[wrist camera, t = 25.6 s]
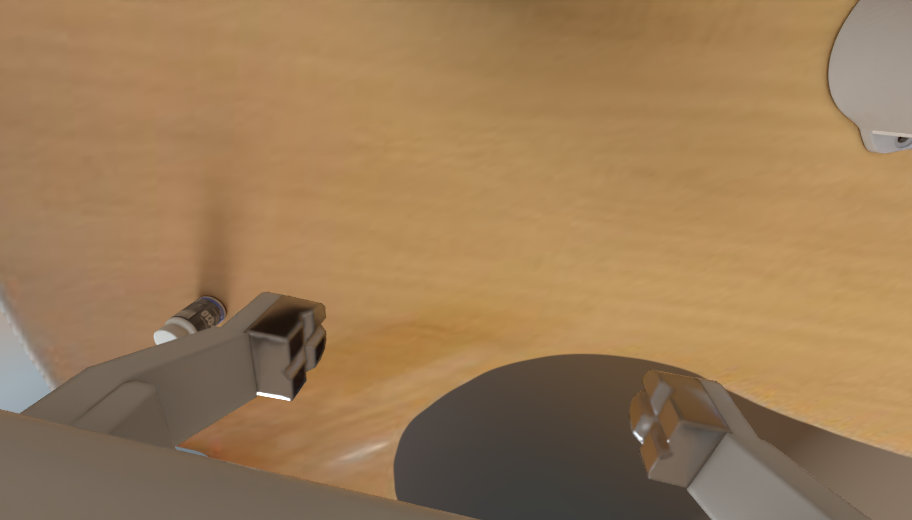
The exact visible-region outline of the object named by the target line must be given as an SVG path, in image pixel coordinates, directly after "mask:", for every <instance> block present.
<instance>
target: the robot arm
mask: <svg viewBox="0 0 912 520" xmlns="http://www.w3.org/2000/svg"><path fill="white" fill-rule="evenodd" d="M828 81H829V88H830V92H831V95H832V98H833V100H834V102H835V104H836V105H837V107H838V108H839V110H840V111H841V112H842V113H843V114H844V115H845V116H847V117H848V118H849V119H850V120H851V121H853V122H854V123H855V124H856V125H857V126H858V127H859V129H860V133H861V136H862V140H863V142H864V145H865V147H866V148H867V150H868V151H870V152H873V153H891V152H897V151H903V150H909V149H912V0H859V2H858V3H857V4H856V6H855V7H854V8H853V10H852V11H851V13H850V14H849V16H848V17H847V19H846V20H845V22H844V24H843V26H842V28H841V29H840V31H839V34H838V36H837V38H836V41H835V43H834V46H833V49H832V52H831V56H830V61H829V69H828ZM899 137H901V139H900V140H898V138H899ZM325 318H326V312H325V306H324V305H323V304H322V303H318V302H314V301H309V300H305V299H300V298H296V297H291V296H287V295H281V294H277V293H272V292H263V293H261V294H259V295H258V296H257V297H256V298H255V299H254V300H252V301H251V302H250V303H249V304H248V305H247V306H245V307H244V308H243V309H242V310H241V311H239V312H238V313H237V314H236V315H235V316H234V317H232V318H231V319H230V320H229V321H228V322H226V323H225V324H224V325H223V326H222V327H221V328H219V327H211V328H208V329H205V330H202V331H199V332H196V333H193V334H190V335H186V336H183V337H180V338H177V339H174V340H171V341H168V342H165V343H162V344H159V345H156V346H153V347H149V348H146V349H143V350H140V351H137V352H134V353H131V354H128V355H125V356H122V357H119V358H116V359H113V360H109V361H106V362H103V363H100V364H97V365H94V366H91V367H88V368H86V369H84V370H83V371H81V372H80V373H79V374H77V375H76V376H74V377H73V378H71V379H70V380H68V381H67V382H65V383H64V384H62V385H61V386H59V387H58V388H56V389H55V390H53V391H52V392H51V393H49V394H48V395H46V396H45V397H43V398H42V399H40V400H39V401H38V402H36V403H34V404H33V405H32V406H30V407H28V408H27V409H26V410H24V411H23V412H21V413H20V414H18V413H14V412H9V411H5V410H1V409H0V520H479V519H475V518H470V517H466V516H462V515H458V514H453V513H449V512H445V511H440V510H436V509H432V508H427V507H422V506H419V505H414V504H410V503H405V502H401V501H397V500H393V499H388V498H384V497H380V496H375V495H371V494H367V493H362V492H358V491H353V490H349V489H345V488H340V487H336V486H332V485H327V484H323V483H319V482H314V481H310V480H306V479H301V478H297V477H293V476H288V475H284V474H279V473H275V472H271V471H266V470H262V469H258V468H253V467H249V466H245V465H240V464H236V463H232V462H227V461H223V460H219V459H214V458H210V457H205V456H201V455H196V454H192V453H188V452H184V451H179V450H176V449H175V446H177V445H178V444H180V443H182V442H183V441H185V440H187V439H188V438H190V437H192V436H193V435H195V434H196V433H198V432H200V431H201V430H203V429H205V428H206V427H208V426H210V425H211V424H213V423H215V422H216V421H218V420H219V419H221V418H223V417H224V416H226V415H228V414H229V413H231V412H233V411H234V410H236V409H238V408H239V407H241V406H242V405H244V404H246V403H247V402H249V401H251V400H252V399H254V398H256V397H257V394H258V395H263V396H268V397H274V398H279V399H284V400H290V401H293V399H294V398H295V396H296V395H297V393H298V392H299V390H300V389H301V388H302V386H303V385H304V383H305V382H306V372H307V371H309V370H311V369H313V368H315V367H316V366H317V364H318V362H319V361H320V359H321V357H322V354H323V352H324V349H325V344H326V331H325V329H324V328H323V326H322V325H321V323H322V322H323V321H324V319H325ZM642 384H643V386H644V388H645V389H644V390H643V391H641V392H639V393H637V394H635V396H634V398H633V400H632V403H631V405H630V413H629V419H630V426H631V429H632V432H633V435H634V436H635V437H636V438H637V439H638V440H639V441H640V442H641V443H642V444H643V445H642V447H641V448H640V450H639V453H640V456H641V459H642V461H643V464H644V467H645V470H646V473H647V476H648V478H649V479H654V480H657V481H661V482H665V483H669V484H673V485H678V486H682V487H686V488H688V489H687V490H688V492H689V493H690V494H691V495H692V496H693V498H694V499H695V500H696V501H697V502H698V504H699V505H700V506H701V507H702V508H703V510H704V511H705V512H706V513H707V514H708V516H709V517H710V518H711V519H712V520H871V519H870V518H868V517H867V516H866V515H864V514H863V513H862V512H860V511H859V510H858V509H856V508H855V507H854V506H852V505H851V504H850V503H848V502H847V501H846V500H845V499H843V498H842V497H841V496H839V495H838V494H837V493H835V492H834V491H832V490H831V489H830V488H829V487H827V486H826V485H825V484H823V483H822V482H821V481H819V480H818V479H817V478H815V477H814V476H812V475H811V474H810V473H809V472H807V471H806V470H805V469H803V468H802V467H801V466H799V465H798V464H796V463H795V462H794V461H793V460H791V459H790V458H789V457H787V456H786V455H785V454H783V453H782V452H781V451H779V450H778V449H777V448H775V447H774V446H772V445H771V444H770V443H769V442H767V441H763V440H760V439H759V438H758V437H757V435H756V434H755V432H754V431H753V430H752V428H751V426H750V425H749V423H748V422H747V421H746V419H745V418H744V416H743V415H742V413H741V412H740V411H739V409H738V408H737V406H736V405H735V403H734V402H733V400H732V399H731V397H730V396H729V395H728V393H727V392H726V390H725V389H724V387H723V386H722V385H721V384H720V383H718V382H717V381H713V380H707V379H701V378H696V377H693V378H692V377H687V376H681V375H676V374H671V373H666V372H661V371H656V370H649V371H648V372H647V373H646V374H645V376H644V378H643V380H642Z"/></svg>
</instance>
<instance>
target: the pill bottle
mask: <svg viewBox="0 0 912 520" xmlns="http://www.w3.org/2000/svg"><path fill="white" fill-rule="evenodd" d="M225 316H226V311H225V308H224V306H223V305H222V303H221V302H220V301H218V300H217V299H215V298H213V297H209V296H203V297H200V298H199V299H197V300H196V301H195V302H193V303H192V304H190V305H189V306H187V307H186V308H184V309H183V310H181V311H180V312H179V313H177V314H176V315H174V316H173V317H171V318H170V319H168V320H167V322H166V323H165V326H163V327H162V328H160V329H159V330H157V331H156V332H155V334H154V341H155V343H156V344H157V345H159V344H162V343H165V342H168V341H171V340H174V339H177V338H180V337H183V336H186V335H190V334H193V333H196V332H199V331H202V330H205V329H208V328H211V327H215V326H217V325H218V324H219V323H220V322H221V321H223V320H224V318H225Z"/></svg>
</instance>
